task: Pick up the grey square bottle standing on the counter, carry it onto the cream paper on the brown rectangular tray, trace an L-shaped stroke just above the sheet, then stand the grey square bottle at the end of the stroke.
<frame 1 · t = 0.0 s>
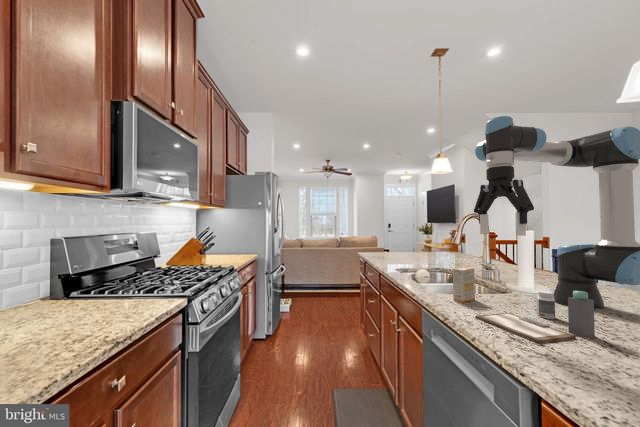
hand: (501, 234, 94), 28 cm above the countertop, fingers open, 13 cm apart
pill bottle: (546, 317, 101), on the countertop
supplement box: (464, 300, 124), on the countertop
brown rectangular tray: (520, 327, 91), on the countertop
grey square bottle: (581, 334, 85), on the countertop
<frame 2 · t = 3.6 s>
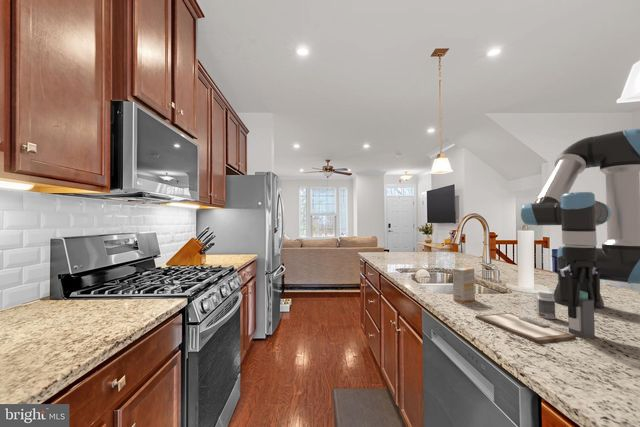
hand: (581, 328, 85), 2 cm above the countertop, fingers closed on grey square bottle, 4 cm apart
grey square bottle: (581, 334, 85), on the countertop, touching gripper
everything else where it was.
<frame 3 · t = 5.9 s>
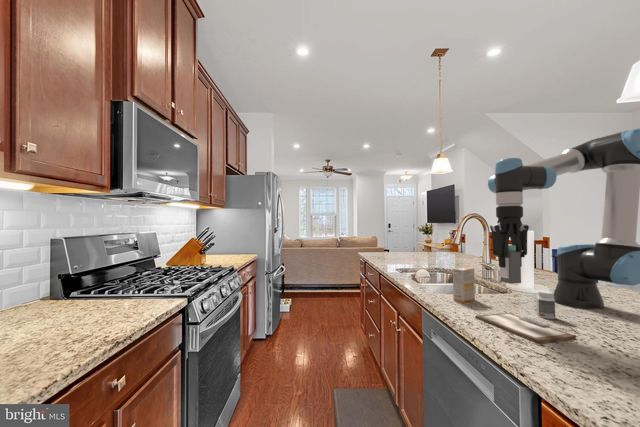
hand: (510, 277, 98), 14 cm above the countertop, fingers closed on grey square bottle, 4 cm apart
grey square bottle: (510, 282, 98), point 12 cm above the countertop, touching gripper
everything else where it was.
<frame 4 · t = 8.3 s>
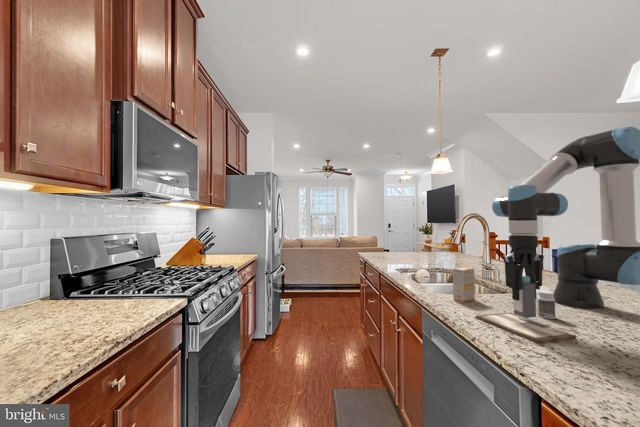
hand: (524, 310, 93), 5 cm above the countertop, fingers closed on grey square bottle, 4 cm apart
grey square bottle: (524, 315, 93), point 3 cm above the countertop, touching gripper
everything else where it was.
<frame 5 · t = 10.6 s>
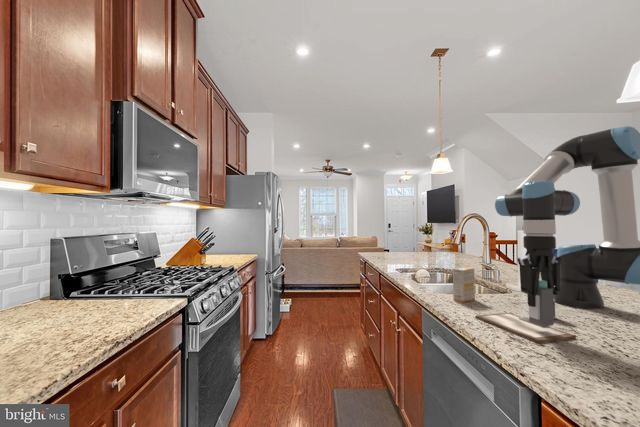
hand: (541, 317, 86), 5 cm above the countertop, fingers closed on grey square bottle, 4 cm apart
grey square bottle: (541, 323, 85), point 3 cm above the countertop, touching gripper
everything else where it was.
when the fingers open (4 cm above the countertop, at t = 12.8 s): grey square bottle drops 2 cm, resting on brown rectangular tray.
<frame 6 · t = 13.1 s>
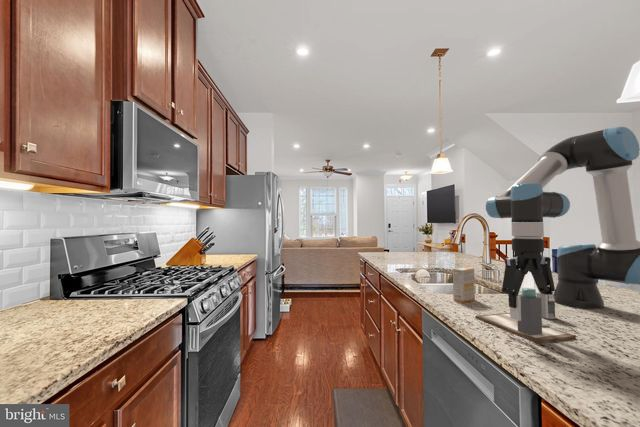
hand: (529, 317, 85), 5 cm above the countertop, fingers open, 9 cm apart
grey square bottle: (529, 332, 84), point 1 cm above the countertop, touching brown rectangular tray
everything else where it was.
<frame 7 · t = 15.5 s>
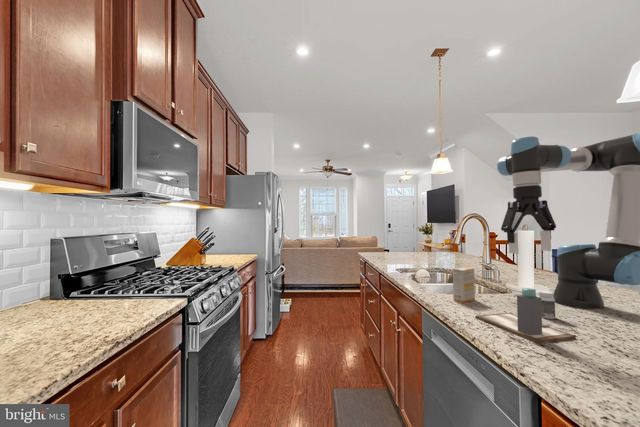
hand: (530, 252, 96), 22 cm above the countertop, fingers open, 13 cm apart
nothing on the countertop moved.
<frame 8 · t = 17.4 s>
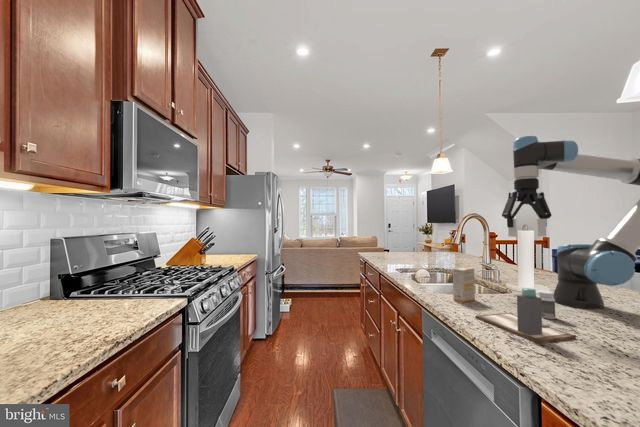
hand: (527, 236, 110), 27 cm above the countertop, fingers open, 13 cm apart
nothing on the countertop moved.
at the end: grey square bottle inside the target area on the brown rectangular tray (6.9 cm from its centre), point 0.9 cm above the brown rectangular tray's base; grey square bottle tilted 0°; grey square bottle moved 15.3 cm from its start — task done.
